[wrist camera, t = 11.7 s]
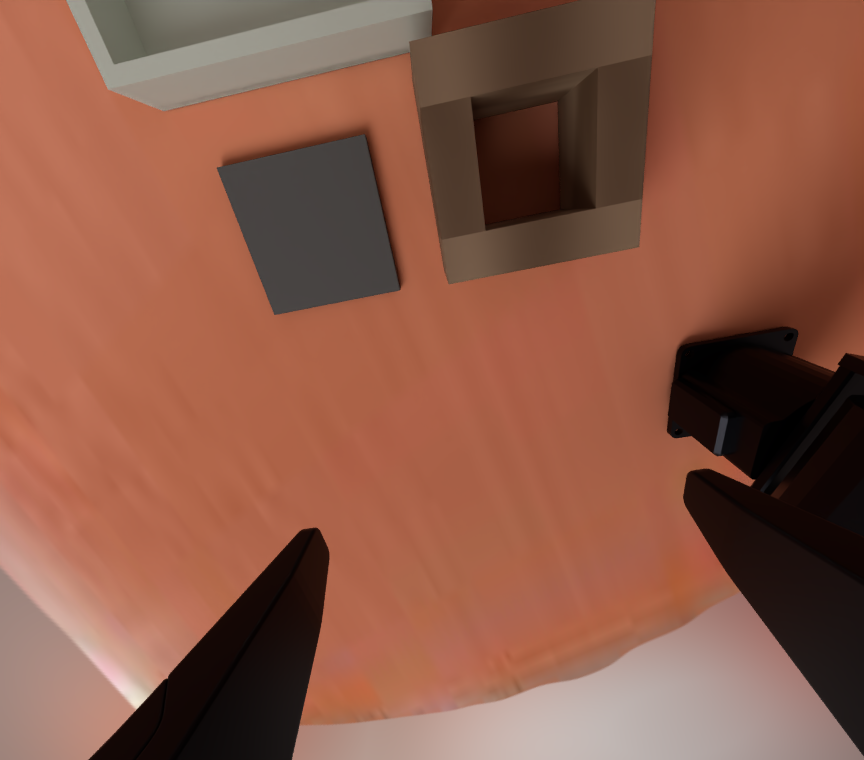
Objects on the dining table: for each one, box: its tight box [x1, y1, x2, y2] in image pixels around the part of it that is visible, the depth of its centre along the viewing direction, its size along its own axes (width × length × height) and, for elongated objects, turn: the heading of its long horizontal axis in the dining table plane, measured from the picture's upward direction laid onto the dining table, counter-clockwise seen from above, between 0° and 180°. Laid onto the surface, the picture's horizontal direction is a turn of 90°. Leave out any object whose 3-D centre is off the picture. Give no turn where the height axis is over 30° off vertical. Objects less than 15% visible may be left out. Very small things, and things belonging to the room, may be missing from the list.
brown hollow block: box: [409, 0, 656, 284], centre depth 15 cm, size 8×8×4 cm
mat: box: [217, 134, 400, 315], centre depth 17 cm, size 7×7×1 cm
